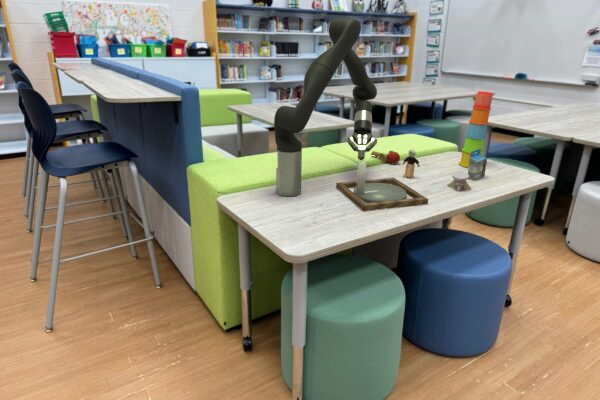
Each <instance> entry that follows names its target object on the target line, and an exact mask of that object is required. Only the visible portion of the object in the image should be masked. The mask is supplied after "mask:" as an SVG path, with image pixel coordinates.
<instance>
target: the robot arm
mask: <svg viewBox="0 0 600 400" xmlns="http://www.w3.org/2000/svg"><path fill="white" fill-rule="evenodd" d="M328 25H329V26H328V35H329V38H330V40H331V42H332V46H331V47H329V49H327V50H325V51H324V52H323V53H321V54H320V55H318V56H317V57H316V58H315V59H314V60H313V61H312V63H311V64H310V66H309V68H308V69H307V71H306V73H305V74H304V78H303V94H302V96H301V99H300V100H299V102H298V103H297V104H296V106H294V107H293V106H289V105H288V106H287V105H282V106H279V107H278V108H277V109H276V111H275V113H274V119H273V125H274V127H273V128H274V141H275V144H276V148H277V167H276V168H275V170H276V171H275V180H276V181H275V185H276V188H275V189H276V193H277V194H278V195H279V196H280V197H282V196H283V197H295V196H296V197H297V196H299V195H301V194H302V171H303V170H302V169H303V167H302V164H303V162H302V160H303V159H302V157H303V156H302V155H303V154H302V153H303V150H302V149H303V148H302V147H303V145H302V141H300V140H299V139H298V138H297V137H296V134H300V133H301V132H302V131H303V130H304V129H305V128H306V126H307V125H308V122H309V120H310V119H311V116H312V114H313V112H314V111H315V107H316V105H317V104H318V101H319V100H320V99H321V97H322V95H323V92H324V91H326V88H327V86H328V85H329V83H330V82H331V80H332V78H333V77H334V75H335V73H336V71H337V70H338V68H339V67H340V65H341V63H342V62H343V63H344V65H345V67H346V68H347V69H346V70H347V72H348V74H349V77H350V79H351V82H352V85H354V87H353V89H352V96H353V101H354V104H355V105H354V106H355V109H354V110H355V115H354V119H353V120H354V121H353V134H352V135H351V137H348V138H346V139H347V140H346V143H347V144H348V146H350V148H351V149H352V150H353V151H354V152H357V159H358V160H359V161H364V160H365V158H366V157H365V155H366V153H369V152H370V151H372V149H373V148H375V146H376V145H377V144H378V139H377V138H374V137H373V134H372V130H373V116H372V113H373V112H372V111H373V103H371V100H374V99H375V98H376V97H377V95H378V91H377V87H376V85H375V83H374V82H373V80H371V78H370V77H369V75H368V72H367V69H366V66H365V64H364V62H363V60H362V59H361V58H360V56H359V55H358V54H357V53H356V52H355V51H354V50H353V49H352V48H353V47H354V46H355V45H356V42H357V41H358V39H359V37H360V35H361V31H362V30H361V29H362V28H361V27H362V26H361V23H360V22H359V20H358V19H355V18H348V17H336V18H333V19H331V21H330V23H329V24H328ZM354 142H355V143H354Z"/></svg>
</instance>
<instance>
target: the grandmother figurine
mask: <svg viewBox="0 0 600 400" xmlns="http://www.w3.org/2000/svg"><path fill="white" fill-rule="evenodd" d="M416 155H417V152H416V150H415V149H414V148H412V149H409V150H408V156H406V157H405V158H404V160H403V161H402V163H401V164H402V165H403V166H404V165H405V164H406V165H405V171H404V175H402V177H403V178H408V179H414V173H415V165H417V168H420V166H421V165H420V161H419V160H418V159H417V158H416V157H415V156H416Z"/></svg>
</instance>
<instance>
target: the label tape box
mask: <svg viewBox="0 0 600 400" xmlns="http://www.w3.org/2000/svg"><path fill="white" fill-rule="evenodd" d="M480 151H481V149H478V150H474V151H471V153H470V159H469V167H467V173H468V174H469V179H468V180H471V181H478V180H479V179H481V178H484V177H485V176H486V175H485V174H486V169H487V160H488V158H486V157H485V156H484V155H483V154H482V155H481V154H480ZM475 152H477V153H476V154H474V153H475Z"/></svg>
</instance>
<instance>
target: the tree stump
mask: <svg viewBox="0 0 600 400" xmlns="http://www.w3.org/2000/svg"><path fill="white" fill-rule="evenodd" d="M452 178H453V180H451V181H450V182H448V184H447V187H448V188H454V187H455V185H457V189H456V192H460V190H461V186H463V188H464V190H466V191H467V190H468V191H470V190H471V189H472V187H471V186H470V184H468V182H467V181H468V180H470V179H469V174H468V172H465V171H462V170H461V171H459V170H458V171H455V172H454V171H453V173H452ZM471 191H472V190H471Z"/></svg>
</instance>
